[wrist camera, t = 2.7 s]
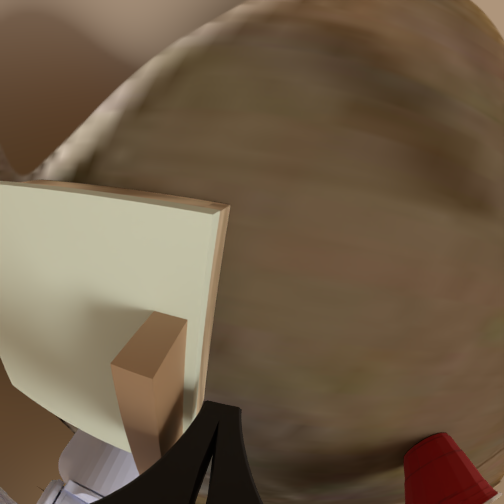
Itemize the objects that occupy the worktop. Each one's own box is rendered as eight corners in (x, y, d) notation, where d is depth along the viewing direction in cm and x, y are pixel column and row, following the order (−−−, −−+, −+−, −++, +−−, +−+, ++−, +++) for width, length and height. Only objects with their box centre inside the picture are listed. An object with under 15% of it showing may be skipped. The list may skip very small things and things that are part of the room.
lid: (220, 210, 8) (174, 239, 5) (193, 460, 13) (178, 510, 9) (-18, 179, 9) (-68, 189, 5) (19, 378, 13) (-8, 405, 9)
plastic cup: (392, 480, 21) (407, 550, 9) (370, 455, 19) (388, 552, 7) (467, 438, 18) (496, 504, 7) (466, 401, 17) (512, 487, 5)
